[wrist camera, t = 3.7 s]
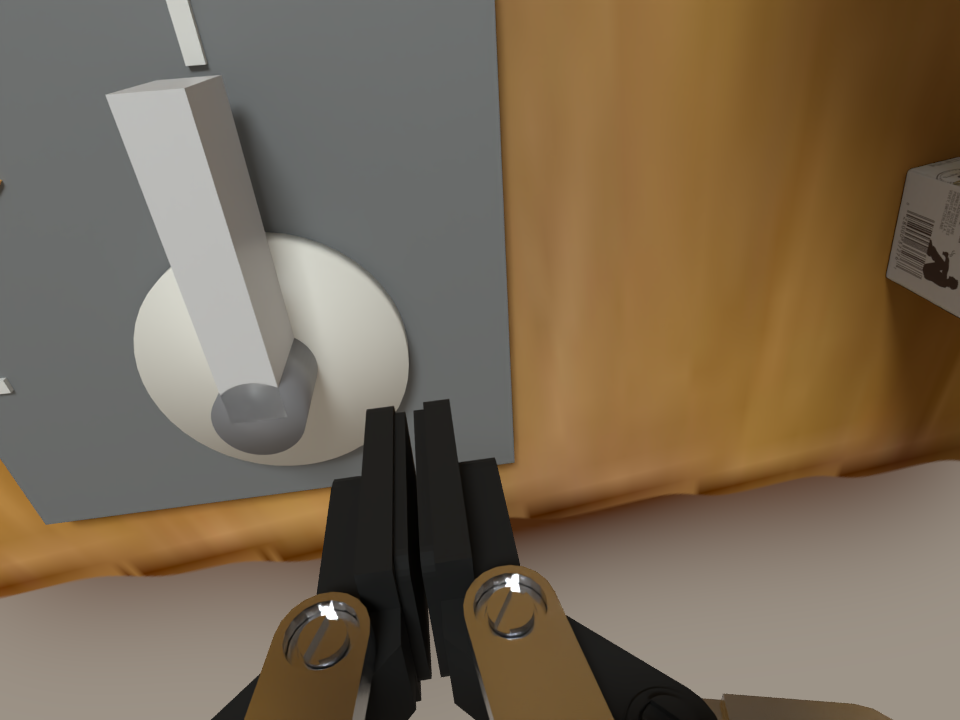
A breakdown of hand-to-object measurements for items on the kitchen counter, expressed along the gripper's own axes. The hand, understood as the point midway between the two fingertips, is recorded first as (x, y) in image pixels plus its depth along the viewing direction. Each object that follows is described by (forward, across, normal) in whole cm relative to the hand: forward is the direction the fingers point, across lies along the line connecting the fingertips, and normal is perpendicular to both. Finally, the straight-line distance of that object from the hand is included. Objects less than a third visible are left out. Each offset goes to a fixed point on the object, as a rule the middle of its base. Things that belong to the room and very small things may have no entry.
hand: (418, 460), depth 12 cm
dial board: (+17, +9, +2) cm, 19 cm away
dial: (+15, +7, +2) cm, 17 cm away
